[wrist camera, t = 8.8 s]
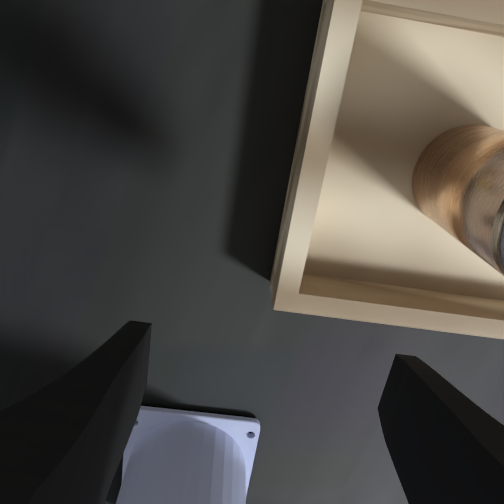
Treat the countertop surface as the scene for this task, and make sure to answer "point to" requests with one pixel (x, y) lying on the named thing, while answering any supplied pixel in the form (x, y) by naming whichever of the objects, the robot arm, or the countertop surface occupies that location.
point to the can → (465, 188)
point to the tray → (389, 166)
